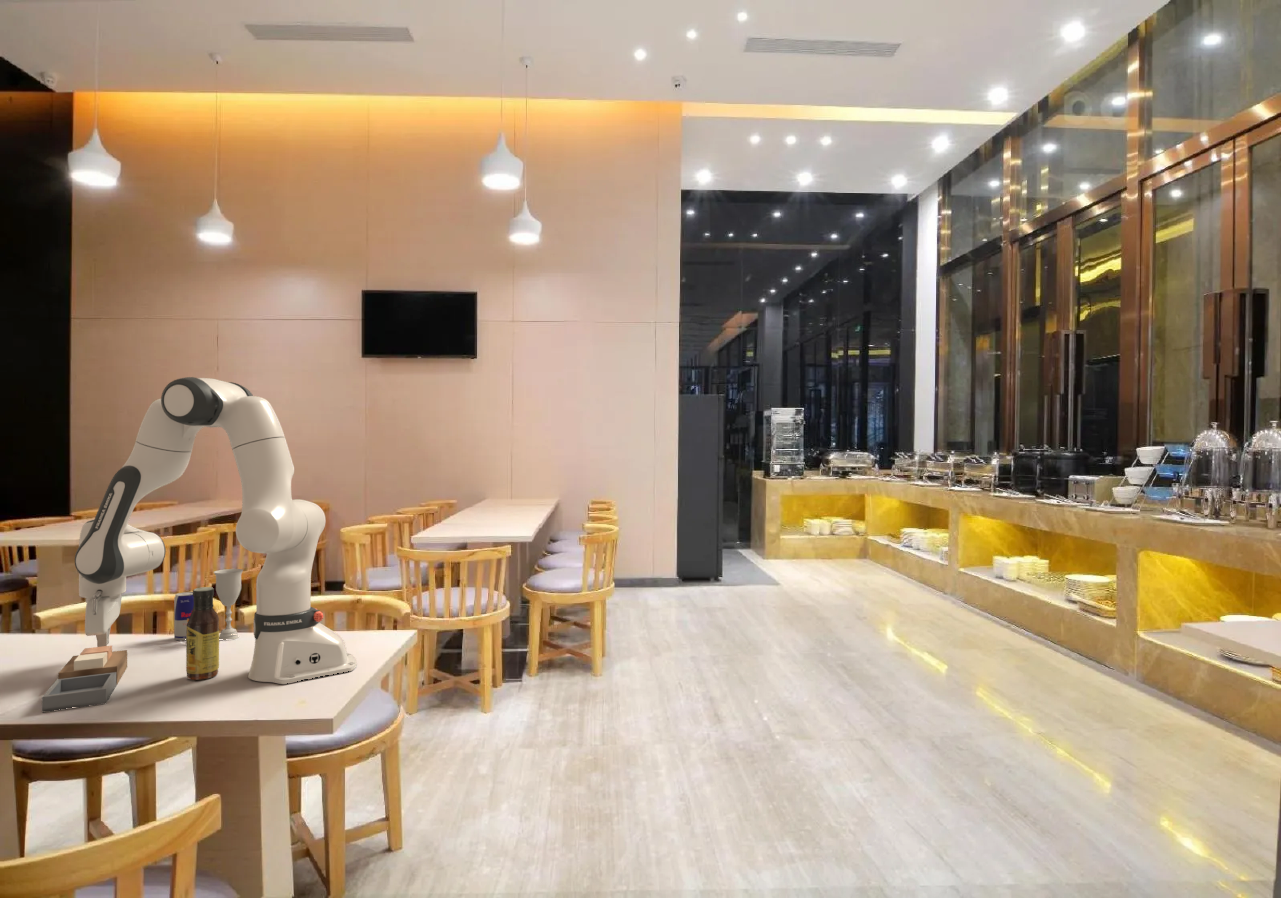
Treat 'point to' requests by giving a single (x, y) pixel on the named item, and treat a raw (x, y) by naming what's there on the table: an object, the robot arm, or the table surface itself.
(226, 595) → the chalice
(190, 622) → the sauce bottle
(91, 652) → the peach rectangular prism
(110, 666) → the walnut board
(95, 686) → the charcoal tray
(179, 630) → the energy drink
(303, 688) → the table surface
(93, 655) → the cream block
